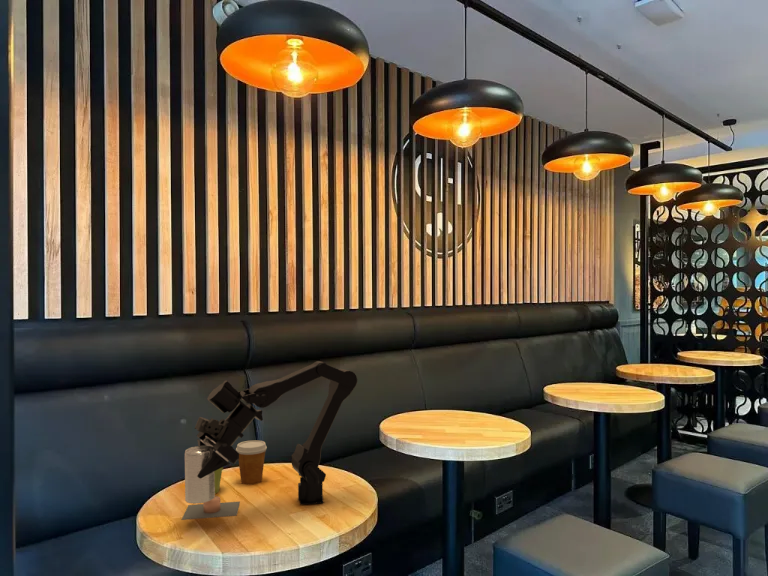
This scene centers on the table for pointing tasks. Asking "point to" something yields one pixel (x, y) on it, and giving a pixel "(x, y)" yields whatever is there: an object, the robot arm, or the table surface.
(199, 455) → the brushed metal canister
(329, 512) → the table surface
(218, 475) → the plant pot
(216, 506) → the pink squat rounded piece
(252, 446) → the disposable coffee cup
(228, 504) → the charcoal mat
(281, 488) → the table surface
